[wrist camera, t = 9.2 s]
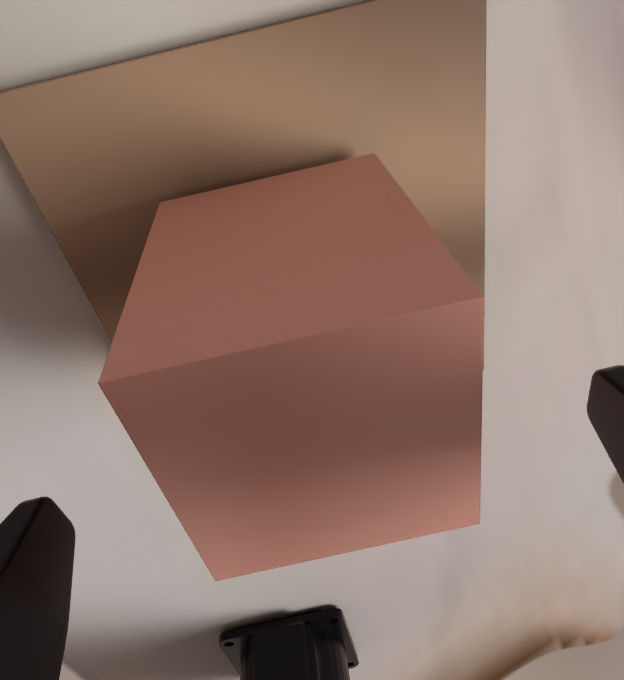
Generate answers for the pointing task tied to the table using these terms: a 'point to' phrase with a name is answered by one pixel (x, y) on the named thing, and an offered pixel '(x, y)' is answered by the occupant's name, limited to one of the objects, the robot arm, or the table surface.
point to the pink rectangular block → (302, 368)
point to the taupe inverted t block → (258, 128)
